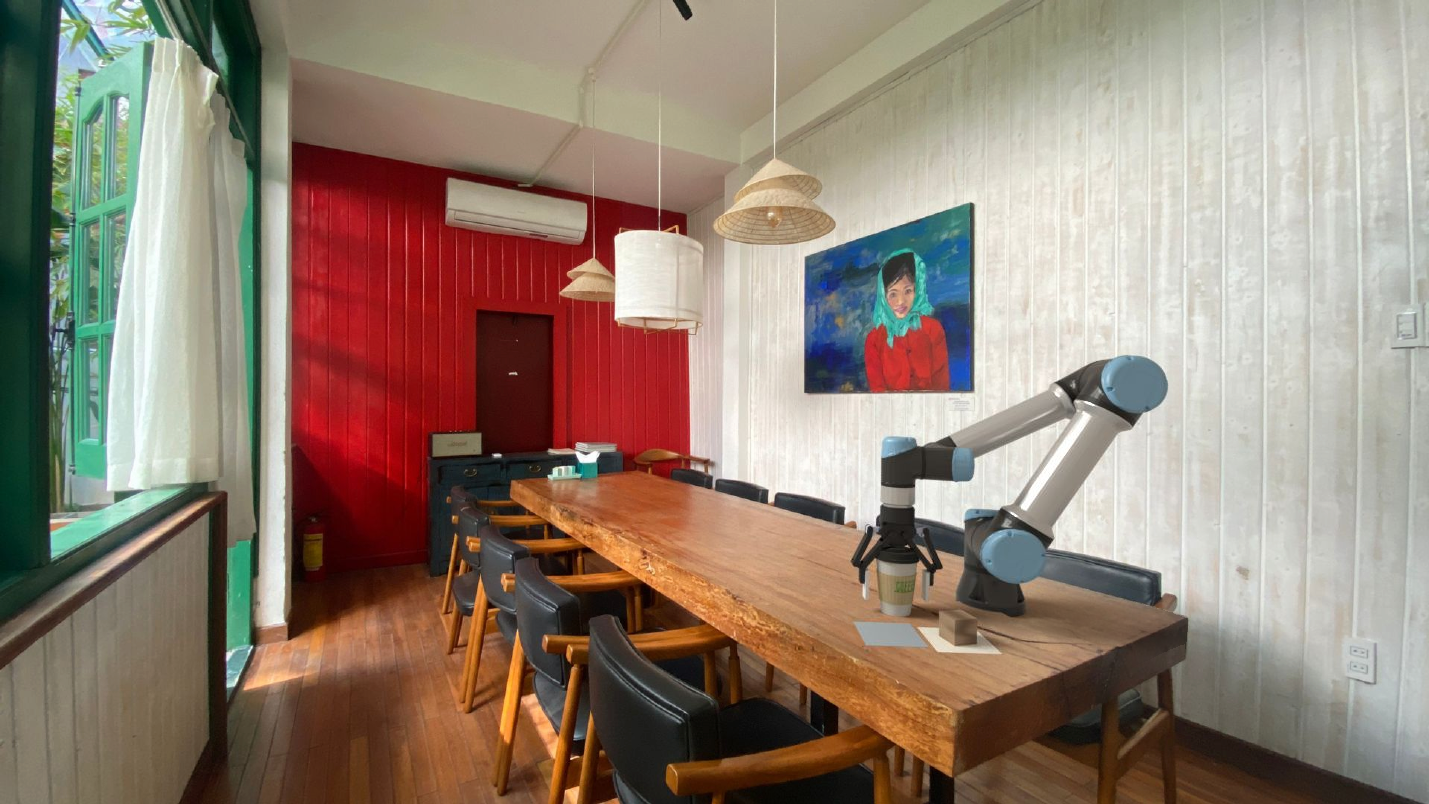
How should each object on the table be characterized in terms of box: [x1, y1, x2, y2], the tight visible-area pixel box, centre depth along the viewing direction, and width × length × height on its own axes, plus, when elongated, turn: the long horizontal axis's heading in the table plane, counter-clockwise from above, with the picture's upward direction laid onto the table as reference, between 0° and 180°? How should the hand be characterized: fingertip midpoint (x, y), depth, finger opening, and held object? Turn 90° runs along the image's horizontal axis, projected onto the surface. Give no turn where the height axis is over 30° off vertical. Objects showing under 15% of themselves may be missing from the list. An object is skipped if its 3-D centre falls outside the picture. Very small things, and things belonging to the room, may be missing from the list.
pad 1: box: [853, 621, 930, 651], centre depth 116 cm, size 12×12×1 cm
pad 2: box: [917, 626, 1003, 655], centre depth 113 cm, size 12×12×1 cm
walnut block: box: [938, 609, 978, 646], centre depth 113 cm, size 5×5×5 cm
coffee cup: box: [875, 545, 921, 618], centre depth 129 cm, size 10×10×15 cm
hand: (895, 599), depth 129 cm, fingers open, 13 cm apart
